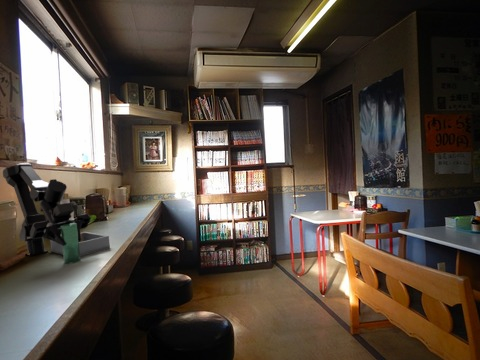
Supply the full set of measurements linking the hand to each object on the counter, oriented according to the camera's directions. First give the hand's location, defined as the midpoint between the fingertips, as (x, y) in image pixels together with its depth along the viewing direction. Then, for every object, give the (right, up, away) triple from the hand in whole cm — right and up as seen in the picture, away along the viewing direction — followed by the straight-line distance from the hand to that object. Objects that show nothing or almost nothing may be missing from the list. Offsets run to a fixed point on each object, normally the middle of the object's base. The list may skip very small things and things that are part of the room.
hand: (72, 243), depth 101 cm
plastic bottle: (-22, -7, +36) cm, 43 cm away
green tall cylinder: (-1, -7, +1) cm, 7 cm away
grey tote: (-7, -6, +17) cm, 20 cm away
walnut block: (-11, -6, +21) cm, 24 cm away
